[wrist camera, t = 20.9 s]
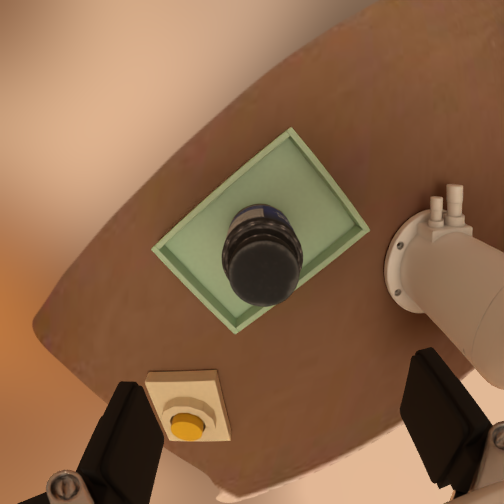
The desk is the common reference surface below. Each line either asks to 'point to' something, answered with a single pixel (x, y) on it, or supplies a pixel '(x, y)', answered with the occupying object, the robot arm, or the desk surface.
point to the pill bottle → (262, 256)
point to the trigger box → (190, 401)
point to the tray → (276, 195)
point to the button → (187, 426)
